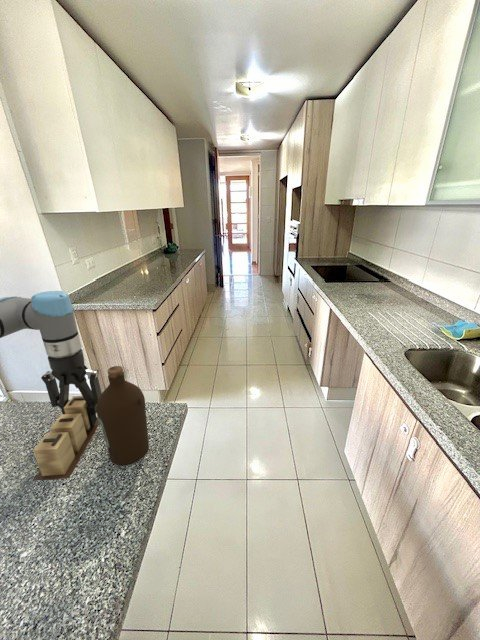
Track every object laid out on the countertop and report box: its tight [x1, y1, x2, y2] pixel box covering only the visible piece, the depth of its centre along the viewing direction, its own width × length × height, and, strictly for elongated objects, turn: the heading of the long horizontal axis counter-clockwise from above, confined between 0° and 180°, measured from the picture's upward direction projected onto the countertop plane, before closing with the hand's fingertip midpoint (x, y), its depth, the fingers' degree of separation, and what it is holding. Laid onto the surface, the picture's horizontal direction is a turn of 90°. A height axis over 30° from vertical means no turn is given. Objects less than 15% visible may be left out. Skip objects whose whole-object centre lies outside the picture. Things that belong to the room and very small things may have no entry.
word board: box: [32, 416, 100, 482], centre depth 69 cm, size 8×20×1 cm, turn 6°
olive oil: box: [96, 365, 150, 467], centre depth 63 cm, size 11×11×25 cm
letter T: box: [32, 432, 75, 476], centre depth 61 cm, size 5×5×8 cm
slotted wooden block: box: [64, 395, 91, 430], centre depth 73 cm, size 5×5×8 cm
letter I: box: [49, 413, 87, 452], centre depth 67 cm, size 5×5×8 cm
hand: (83, 423), depth 75 cm, fingers closed on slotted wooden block, 5 cm apart
